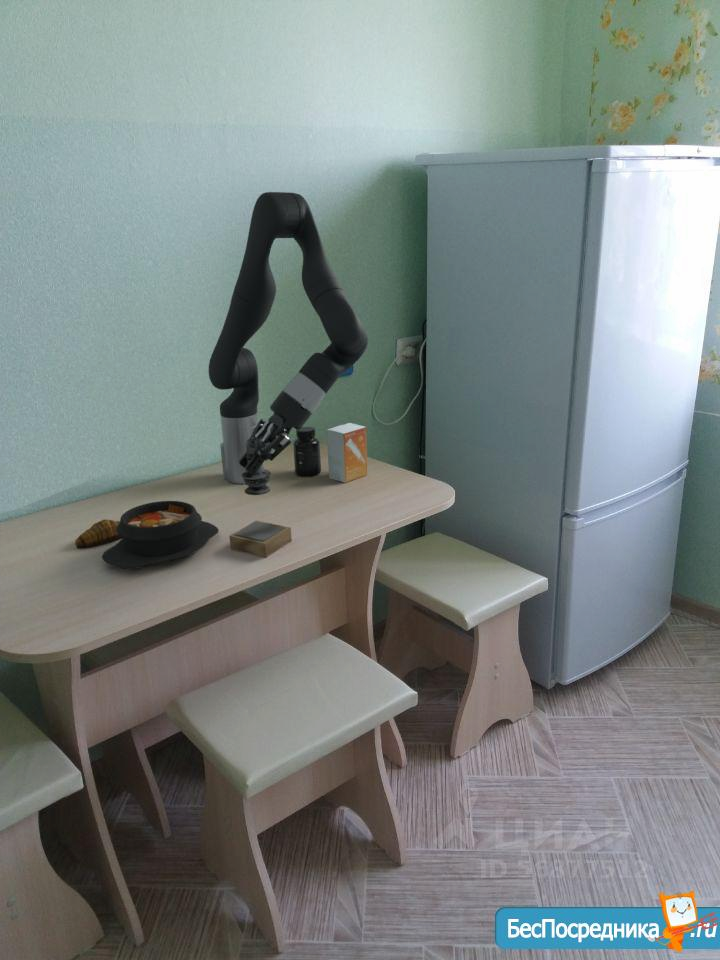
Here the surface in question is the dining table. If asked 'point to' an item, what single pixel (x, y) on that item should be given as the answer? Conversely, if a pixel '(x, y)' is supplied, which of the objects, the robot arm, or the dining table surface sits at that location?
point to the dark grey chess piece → (261, 476)
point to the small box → (347, 452)
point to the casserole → (158, 534)
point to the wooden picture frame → (260, 538)
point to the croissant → (99, 534)
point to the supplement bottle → (307, 453)
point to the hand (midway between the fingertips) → (245, 468)
